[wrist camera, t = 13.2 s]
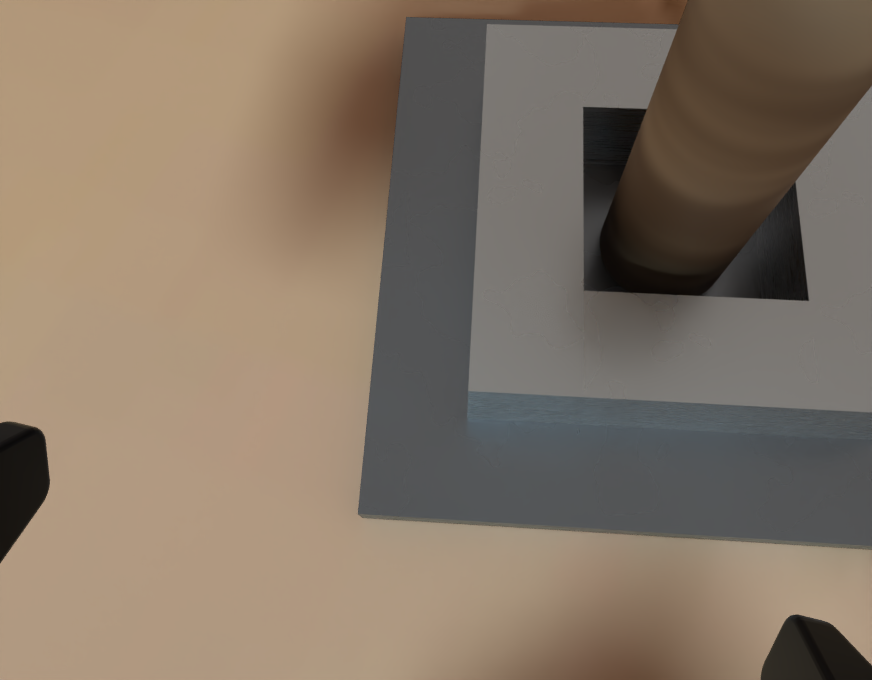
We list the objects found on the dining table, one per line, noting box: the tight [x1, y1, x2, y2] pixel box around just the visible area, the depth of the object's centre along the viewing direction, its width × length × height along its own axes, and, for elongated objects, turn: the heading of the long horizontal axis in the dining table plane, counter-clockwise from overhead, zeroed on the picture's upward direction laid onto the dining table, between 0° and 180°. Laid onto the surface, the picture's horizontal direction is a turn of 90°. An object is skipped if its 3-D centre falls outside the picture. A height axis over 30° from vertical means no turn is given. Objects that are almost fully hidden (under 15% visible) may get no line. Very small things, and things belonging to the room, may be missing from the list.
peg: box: [600, 0, 872, 296], centre depth 18 cm, size 4×4×12 cm
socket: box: [358, 17, 872, 550], centre depth 23 cm, size 18×18×4 cm
